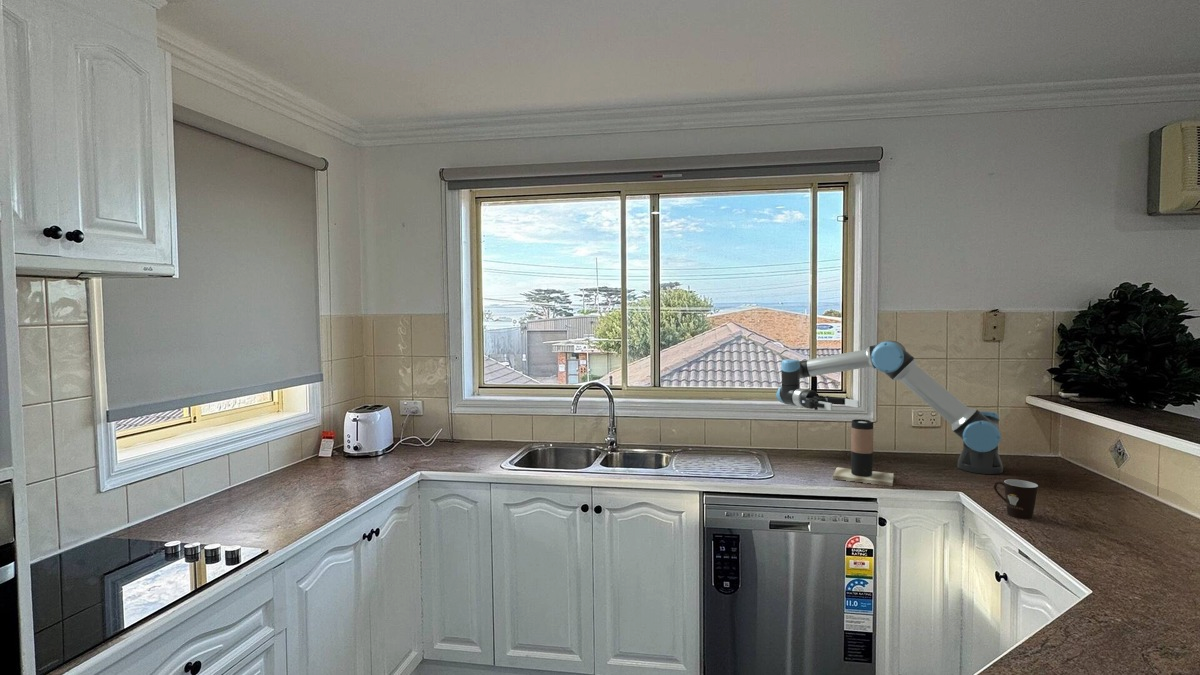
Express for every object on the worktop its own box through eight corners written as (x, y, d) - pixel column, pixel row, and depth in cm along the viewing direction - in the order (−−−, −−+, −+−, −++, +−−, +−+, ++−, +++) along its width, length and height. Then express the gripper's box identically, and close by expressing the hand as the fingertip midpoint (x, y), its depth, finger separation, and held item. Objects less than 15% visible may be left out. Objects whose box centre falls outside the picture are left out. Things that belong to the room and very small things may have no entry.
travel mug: (847, 474, 229) (848, 421, 228) (855, 470, 235) (855, 418, 234) (868, 478, 224) (869, 423, 223) (875, 473, 230) (876, 421, 229)
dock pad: (893, 477, 230) (893, 473, 230) (892, 486, 219) (892, 482, 219) (836, 471, 239) (836, 467, 239) (832, 479, 228) (833, 475, 228)
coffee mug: (1043, 520, 184) (1045, 487, 183) (1014, 520, 184) (1015, 487, 183) (1018, 507, 195) (1019, 476, 195) (990, 507, 195) (991, 476, 195)
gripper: (829, 405, 260) (869, 412, 241) (782, 410, 251) (819, 418, 231) (829, 387, 260) (869, 393, 241) (782, 391, 250) (819, 398, 231)
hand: (845, 405), depth 236 cm, fingers open, 13 cm apart
